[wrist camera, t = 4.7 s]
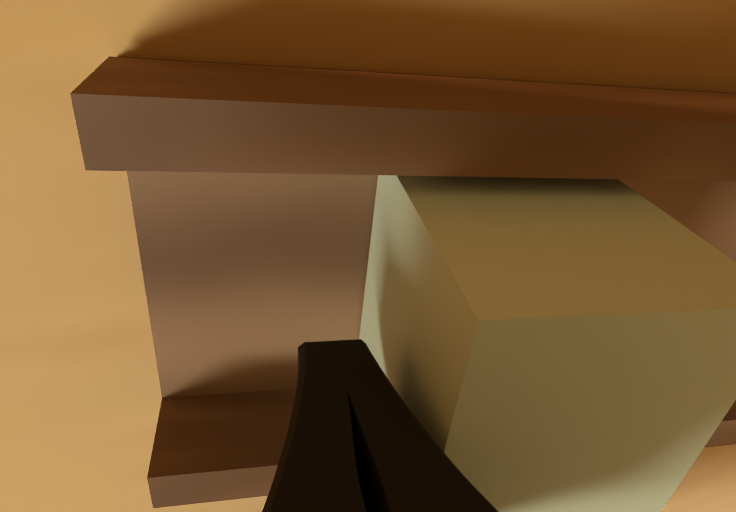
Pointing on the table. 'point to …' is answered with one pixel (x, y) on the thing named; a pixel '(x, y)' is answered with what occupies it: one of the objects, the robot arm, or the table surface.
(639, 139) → the chute
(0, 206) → the table surface
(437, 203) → the block
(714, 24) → the table surface
